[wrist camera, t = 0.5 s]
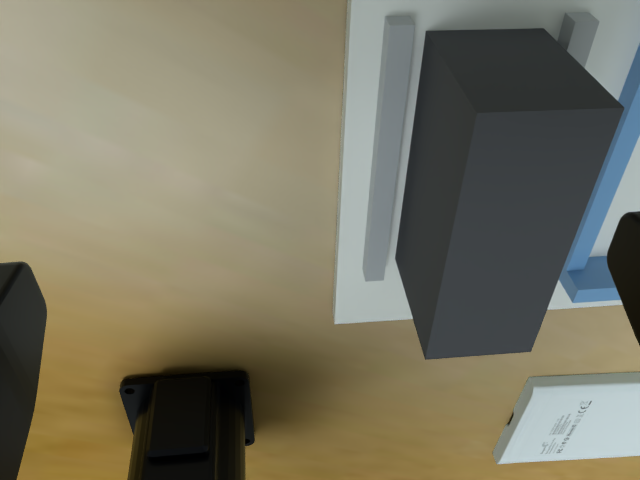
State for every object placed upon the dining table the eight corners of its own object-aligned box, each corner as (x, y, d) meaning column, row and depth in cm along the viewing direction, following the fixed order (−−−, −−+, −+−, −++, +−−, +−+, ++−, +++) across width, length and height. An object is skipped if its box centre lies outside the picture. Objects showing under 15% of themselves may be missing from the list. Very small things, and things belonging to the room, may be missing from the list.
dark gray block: (484, 253, 26) (530, 351, 22) (394, 258, 26) (425, 359, 22) (543, 28, 20) (624, 107, 16) (425, 30, 20) (477, 112, 15)
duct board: (682, 288, 31) (715, 330, 29) (332, 311, 29) (340, 357, 27) (915, -115, 19) (999, -95, 17) (352, -115, 17) (369, -93, 15)
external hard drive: (660, 435, 42) (489, 446, 40) (719, 359, 36) (525, 368, 35) (673, 456, 41) (497, 468, 39) (736, 381, 35) (536, 392, 34)
